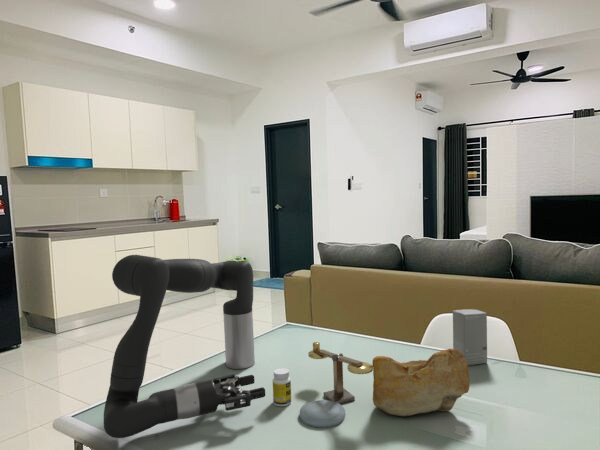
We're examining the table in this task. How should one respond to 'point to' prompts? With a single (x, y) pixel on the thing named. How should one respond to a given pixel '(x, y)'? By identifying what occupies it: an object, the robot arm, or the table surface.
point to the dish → (322, 413)
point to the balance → (340, 372)
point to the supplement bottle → (281, 387)
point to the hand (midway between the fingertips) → (259, 385)
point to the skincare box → (470, 335)
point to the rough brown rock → (420, 383)
